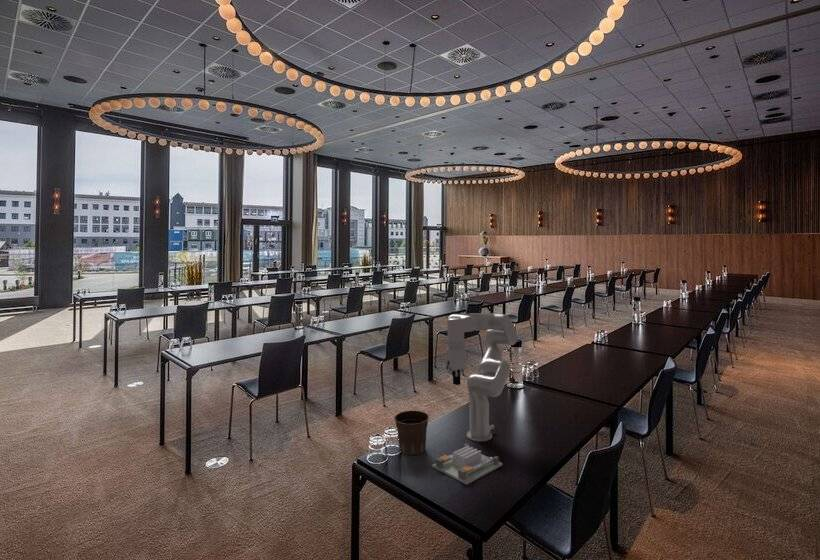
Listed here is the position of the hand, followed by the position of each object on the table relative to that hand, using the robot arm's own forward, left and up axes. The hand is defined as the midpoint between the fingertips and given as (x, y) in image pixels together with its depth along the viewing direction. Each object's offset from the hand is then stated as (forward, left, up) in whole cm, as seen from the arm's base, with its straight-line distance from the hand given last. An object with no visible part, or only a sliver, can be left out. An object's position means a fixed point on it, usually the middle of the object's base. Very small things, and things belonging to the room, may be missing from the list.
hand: (456, 384), depth 206 cm
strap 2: (+7, +19, -30) cm, 36 cm away
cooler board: (+7, +12, -32) cm, 35 cm away
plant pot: (+14, -16, -32) cm, 39 cm away
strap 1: (+7, +5, -30) cm, 31 cm away
